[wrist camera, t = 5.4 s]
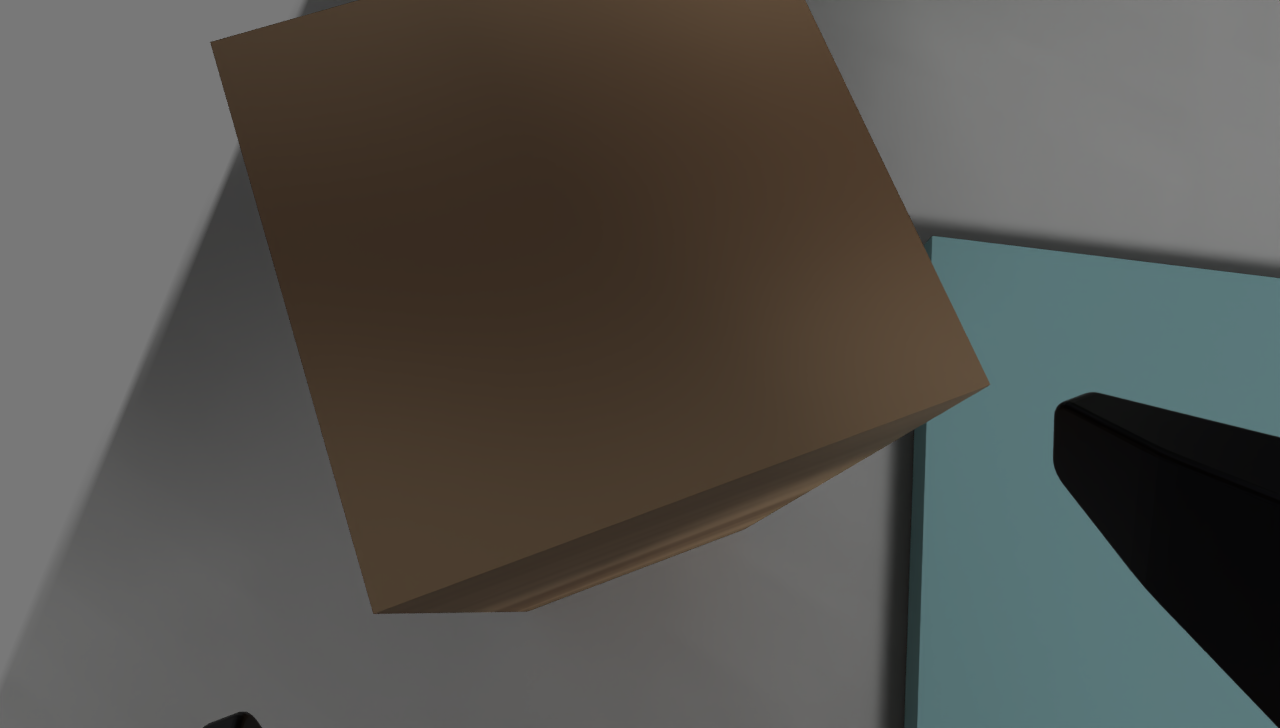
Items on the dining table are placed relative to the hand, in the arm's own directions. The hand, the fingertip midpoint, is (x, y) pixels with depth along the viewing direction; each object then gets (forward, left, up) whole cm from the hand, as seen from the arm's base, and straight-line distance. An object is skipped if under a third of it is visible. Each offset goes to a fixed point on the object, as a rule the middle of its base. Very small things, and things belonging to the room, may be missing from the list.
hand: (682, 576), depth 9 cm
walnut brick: (+3, +1, -10) cm, 11 cm away
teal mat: (+3, -12, -10) cm, 16 cm away
